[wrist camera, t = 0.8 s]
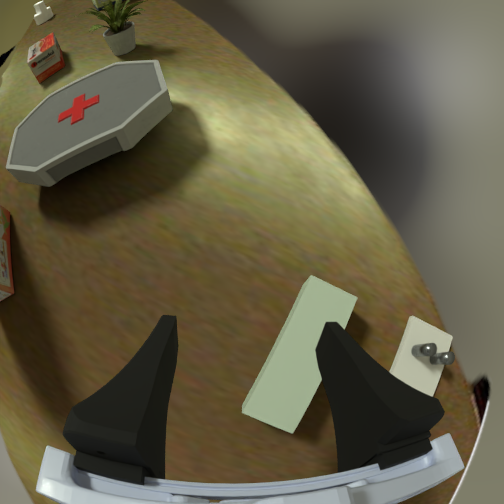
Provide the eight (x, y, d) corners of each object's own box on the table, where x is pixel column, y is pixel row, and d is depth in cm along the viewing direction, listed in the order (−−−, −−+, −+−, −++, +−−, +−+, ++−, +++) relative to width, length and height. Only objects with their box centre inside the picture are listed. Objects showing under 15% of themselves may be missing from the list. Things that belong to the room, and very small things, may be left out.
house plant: (108, 76, 42) (84, 12, 26) (83, 64, 45) (61, 11, 29) (164, 43, 46) (152, -19, 30) (132, 34, 48) (119, -18, 33)
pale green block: (286, 423, 25) (292, 433, 21) (242, 403, 26) (242, 412, 22) (343, 304, 29) (357, 297, 25) (302, 284, 30) (311, 274, 26)
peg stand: (390, 472, 22) (406, 483, 18) (343, 461, 23) (356, 474, 19) (449, 337, 27) (469, 333, 24) (409, 316, 28) (428, 311, 25)
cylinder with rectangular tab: (55, 14, 67) (49, -3, 55) (40, 25, 64) (32, 7, 53) (50, 15, 68) (43, -2, 57) (35, 25, 66) (28, 8, 55)
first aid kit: (31, 217, 32) (184, 149, 35) (2, 192, 25) (174, 108, 28) (38, 138, 37) (162, 82, 41) (19, 112, 30) (154, 48, 33)
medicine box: (38, 66, 48) (28, 47, 40) (62, 51, 49) (53, 31, 42) (39, 85, 44) (26, 63, 36) (66, 66, 45) (55, 43, 38)
